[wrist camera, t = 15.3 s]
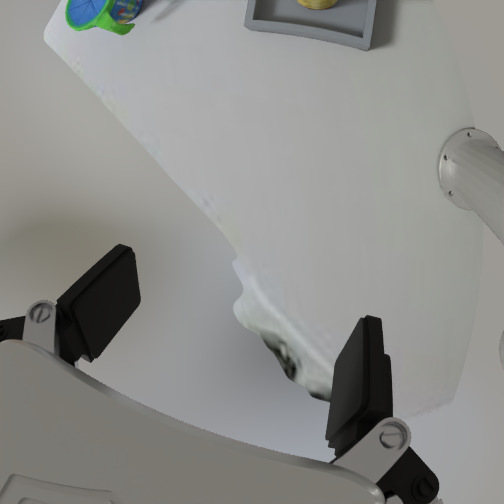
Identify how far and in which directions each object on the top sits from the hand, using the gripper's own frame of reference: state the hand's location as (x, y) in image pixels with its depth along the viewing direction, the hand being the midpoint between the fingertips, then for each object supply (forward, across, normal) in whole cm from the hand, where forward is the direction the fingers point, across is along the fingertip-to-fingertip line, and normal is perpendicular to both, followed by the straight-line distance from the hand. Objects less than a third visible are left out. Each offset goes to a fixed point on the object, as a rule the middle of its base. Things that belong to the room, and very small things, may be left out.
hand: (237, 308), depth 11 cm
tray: (+33, +3, -23) cm, 41 cm away
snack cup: (+34, +34, -22) cm, 53 cm away
